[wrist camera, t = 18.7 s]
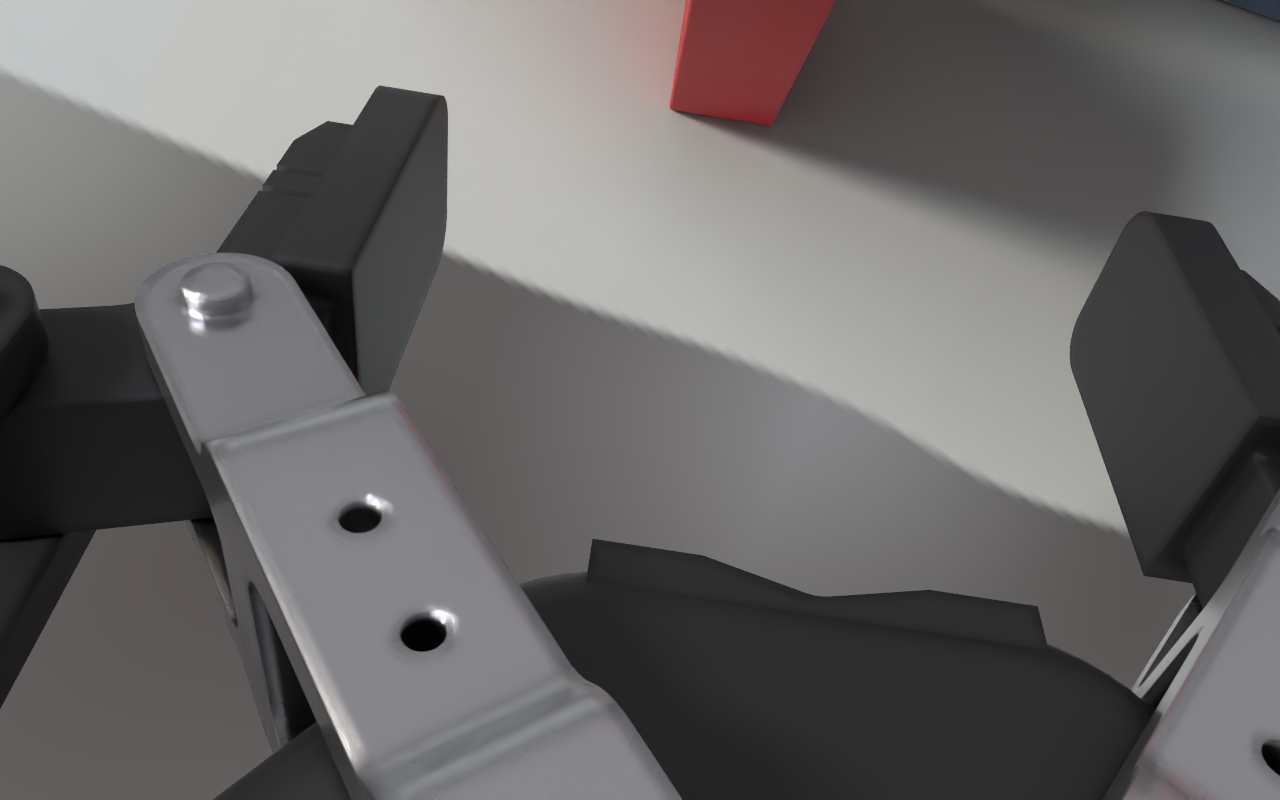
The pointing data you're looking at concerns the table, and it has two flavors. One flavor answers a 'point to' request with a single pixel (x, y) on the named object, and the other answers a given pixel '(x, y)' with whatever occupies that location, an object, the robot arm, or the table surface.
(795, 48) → the red box
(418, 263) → the robot arm
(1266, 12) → the tray
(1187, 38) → the table surface
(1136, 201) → the table surface
